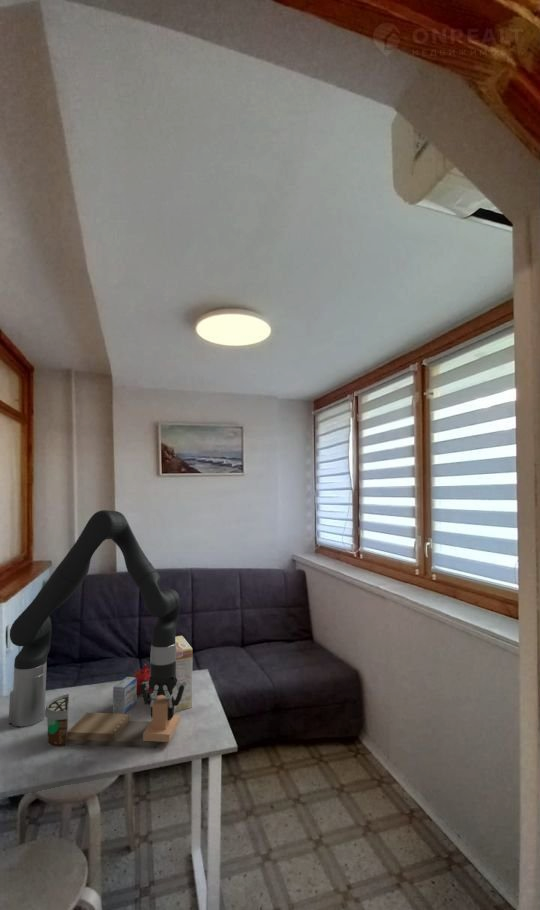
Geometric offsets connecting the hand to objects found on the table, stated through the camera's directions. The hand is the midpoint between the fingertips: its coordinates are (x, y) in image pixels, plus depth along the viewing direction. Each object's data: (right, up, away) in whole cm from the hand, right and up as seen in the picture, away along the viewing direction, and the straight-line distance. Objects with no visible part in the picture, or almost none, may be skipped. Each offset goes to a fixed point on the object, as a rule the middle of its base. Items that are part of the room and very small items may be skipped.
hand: (162, 718), depth 127 cm
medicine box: (-17, -7, +17) cm, 25 cm away
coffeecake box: (0, -7, +22) cm, 23 cm away
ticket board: (-13, -5, 0) cm, 14 cm away
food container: (-31, -6, -1) cm, 32 cm away
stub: (0, -4, 0) cm, 4 cm away
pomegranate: (-14, -8, +29) cm, 34 cm away
